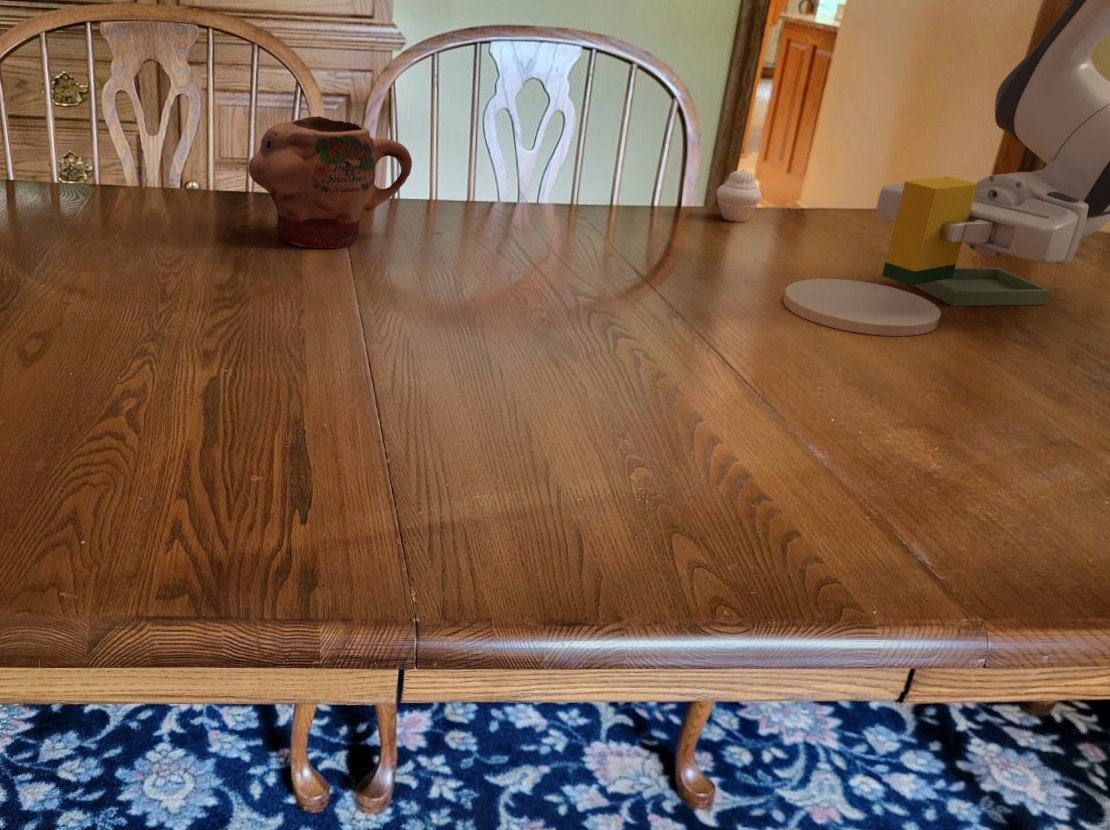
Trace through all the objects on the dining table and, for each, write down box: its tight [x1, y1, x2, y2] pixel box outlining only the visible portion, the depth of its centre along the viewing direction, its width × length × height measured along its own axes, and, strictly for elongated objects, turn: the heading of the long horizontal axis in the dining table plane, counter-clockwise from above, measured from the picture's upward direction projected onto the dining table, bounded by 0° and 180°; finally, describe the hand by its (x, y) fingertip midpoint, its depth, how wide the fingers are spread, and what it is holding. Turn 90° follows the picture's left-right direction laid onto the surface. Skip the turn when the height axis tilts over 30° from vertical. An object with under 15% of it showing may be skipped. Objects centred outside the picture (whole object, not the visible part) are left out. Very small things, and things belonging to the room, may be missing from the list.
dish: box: [912, 267, 1051, 307], centre depth 128 cm, size 12×9×2 cm
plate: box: [782, 278, 942, 337], centre depth 120 cm, size 16×16×1 cm
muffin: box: [716, 168, 762, 223], centre depth 154 cm, size 6×6×7 cm
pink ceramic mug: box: [248, 115, 413, 249], centre depth 133 cm, size 20×12×14 cm, turn 112°
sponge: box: [881, 176, 978, 287], centre depth 114 cm, size 7×4×10 cm, turn 121°
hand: (925, 226), depth 114 cm, fingers closed on sponge, 3 cm apart
